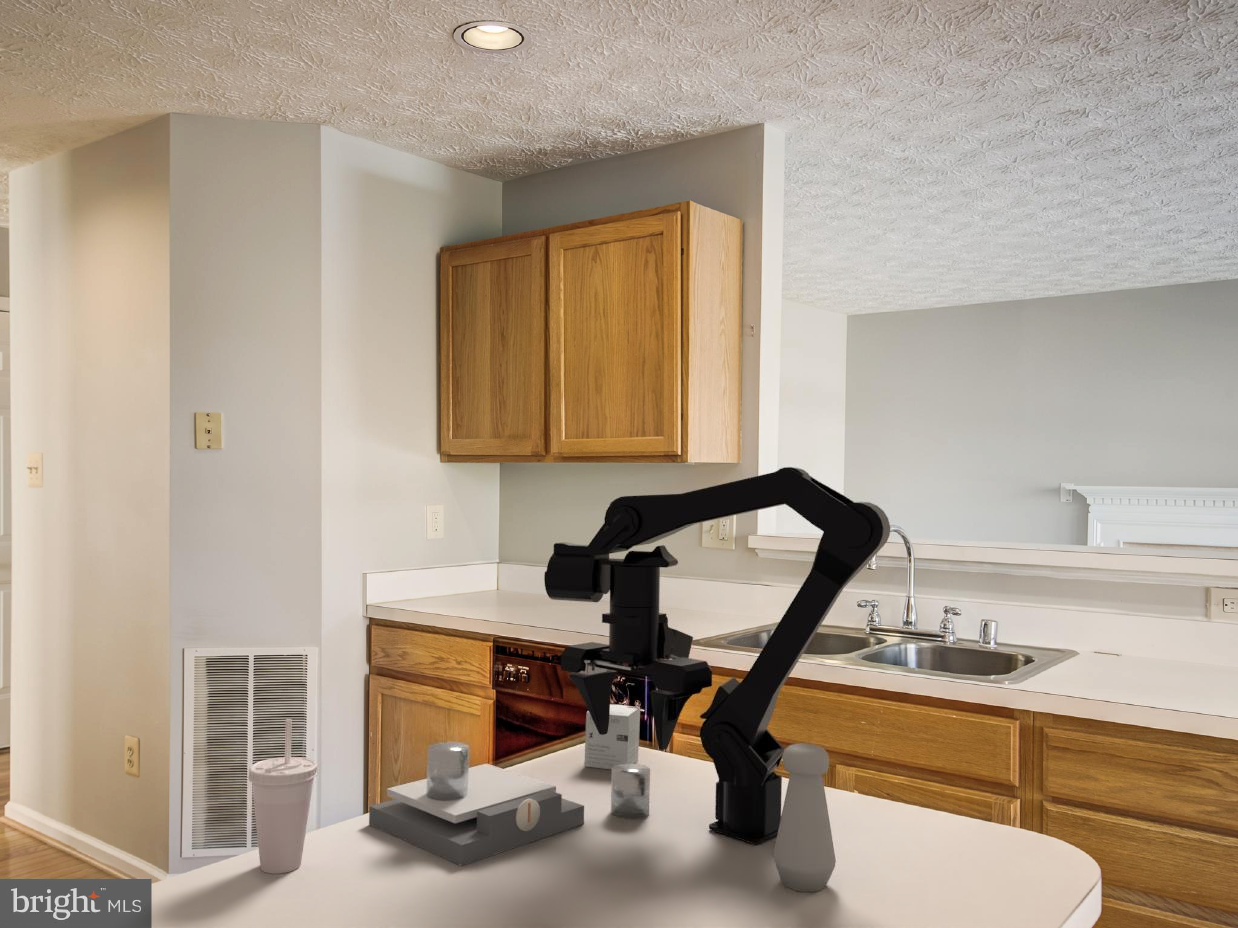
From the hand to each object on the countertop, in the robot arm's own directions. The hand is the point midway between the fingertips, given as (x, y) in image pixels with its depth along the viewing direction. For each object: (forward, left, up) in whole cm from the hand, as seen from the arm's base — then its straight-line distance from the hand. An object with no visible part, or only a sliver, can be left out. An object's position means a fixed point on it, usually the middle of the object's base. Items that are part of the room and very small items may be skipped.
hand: (632, 741), depth 114 cm
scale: (+9, +15, -8) cm, 19 cm away
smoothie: (+13, +36, -8) cm, 39 cm away
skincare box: (+15, -13, -8) cm, 22 cm away
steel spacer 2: (0, 0, -8) cm, 8 cm away
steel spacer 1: (+10, +19, -4) cm, 21 cm away
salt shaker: (-25, +3, -8) cm, 26 cm away
